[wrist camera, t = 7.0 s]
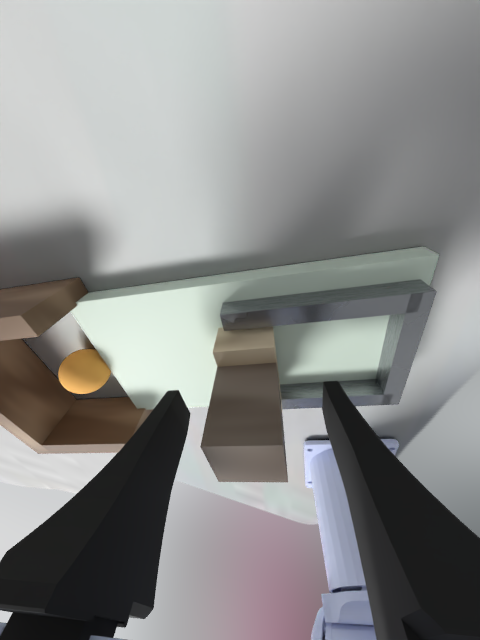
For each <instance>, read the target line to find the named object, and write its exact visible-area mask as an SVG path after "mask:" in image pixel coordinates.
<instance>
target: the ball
mask: <svg viewBox="0 0 480 640" xmlns="http://www.w3.org/2000/svg"><path fill="white" fill-rule="evenodd" d="M110 374H111V370H110V369H109V367H108V366H107V364H106V363H105V361H104V360H103V359H102V357H101V356H100V354H99V353H98V351H97V350H94V349H82V350H78V351H75V352H73V353H72V354H70V355H69V356H67V357H66V358H65V359H64V360H63V362H62V363H61V365H60V367H59V372H58V377H59V381H60V383H61V384H62V386H63V387H64V388H65V389H67V390H68V391H70V392H73V393H77V394H86V393H91V392H94V391H96V390H98V389H99V388H101V387H102V386H103V385H104V384H105V383H106V382H107V380H108V379H109V377H110Z"/></svg>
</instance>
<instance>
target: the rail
mask: <svg viewBox="0 0 480 640" xmlns="http://www.w3.org/2000/svg"><path fill="white" fill-rule="evenodd" d="M436 292H437V291H436V290H434V289H433V288H432V287H430V286H429V285H428V284H426V283H425V282H424V281H422V280H421V279H418V280H410V281H401V282H393V283H384V284H376V285H367V286H359V287H351V288H342V289H334V290H325V291H317V292H308V293H300V294H291V295H283V296H274V297H266V298H257V299H249V300H240V301H232V302H223V304H222V308H221V312H220V318H221V322H222V325H223V329H224V331H230V330H241V329H251V328H261V327H271V326H282V325H292V324H302V323H312V322H322V321H333V320H343V319H353V318H363V317H374V316H384V315H390V316H389V321H388V325H387V330H386V334H385V339H384V343H383V347H382V352H381V356H380V361H379V365H378V370H377V374H376V379H366V380H349V381H338V382H339V383H340V385H341V386H342V388H343V390H344V391H345V393H346V394H347V396H348V397H349V399H350V400H351V402H352V403H353V404H354V406H369V405H394V404H399V402H400V399H401V396H402V393H403V390H404V387H405V384H406V381H407V378H408V375H409V372H410V369H411V366H412V363H413V360H414V357H415V354H416V351H417V348H418V345H419V342H420V339H421V336H422V333H423V330H424V327H425V324H426V321H427V318H428V315H429V312H430V309H431V307H432V304H433V301H434V298H435V295H436ZM280 392H281V403H282V409H297V408H321V407H322V400H323V382H314V383H297V384H280Z"/></svg>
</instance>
